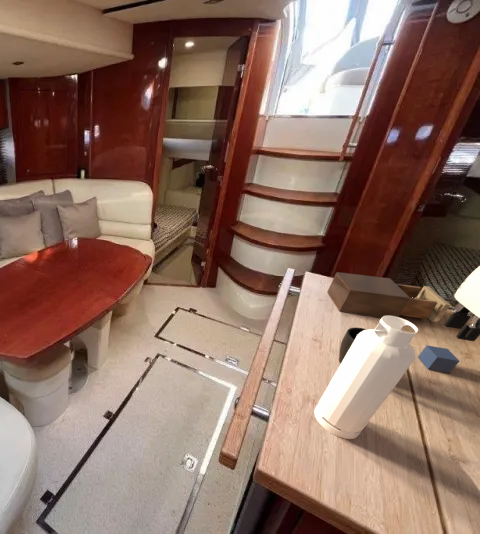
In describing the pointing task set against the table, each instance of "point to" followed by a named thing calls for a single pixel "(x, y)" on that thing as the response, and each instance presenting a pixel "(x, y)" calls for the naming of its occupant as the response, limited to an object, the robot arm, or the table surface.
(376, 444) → the table surface
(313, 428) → the table surface
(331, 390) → the bottle
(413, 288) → the drawer
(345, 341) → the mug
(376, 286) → the cabinet
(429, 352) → the block
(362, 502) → the table surface
